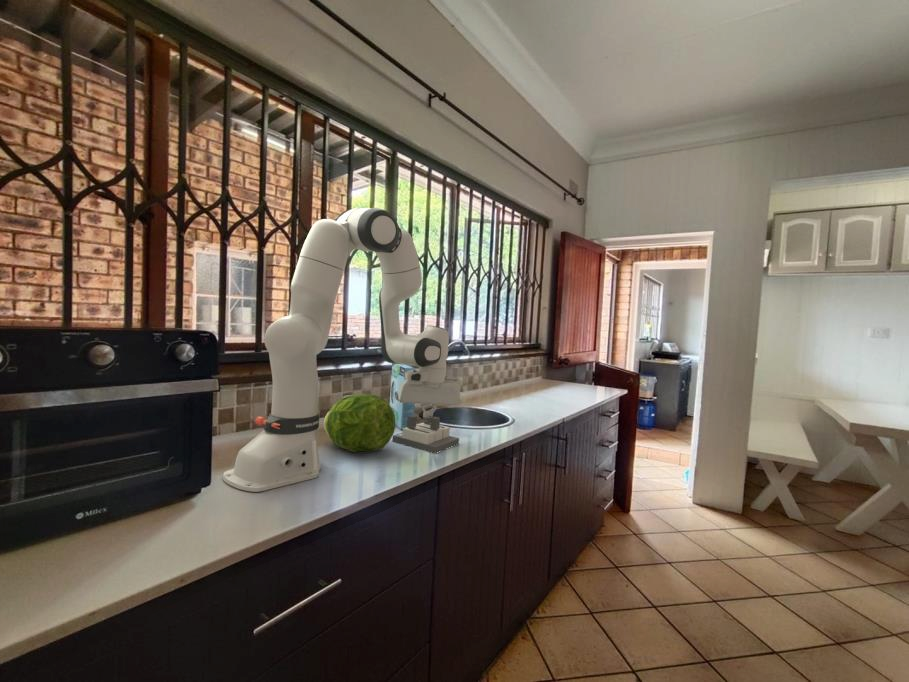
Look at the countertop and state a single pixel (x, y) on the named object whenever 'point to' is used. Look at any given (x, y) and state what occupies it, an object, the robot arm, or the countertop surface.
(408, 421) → the breaker
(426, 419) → the breaker
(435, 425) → the block
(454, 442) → the breaker panel
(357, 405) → the lettuce
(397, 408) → the gum box
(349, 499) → the countertop surface
